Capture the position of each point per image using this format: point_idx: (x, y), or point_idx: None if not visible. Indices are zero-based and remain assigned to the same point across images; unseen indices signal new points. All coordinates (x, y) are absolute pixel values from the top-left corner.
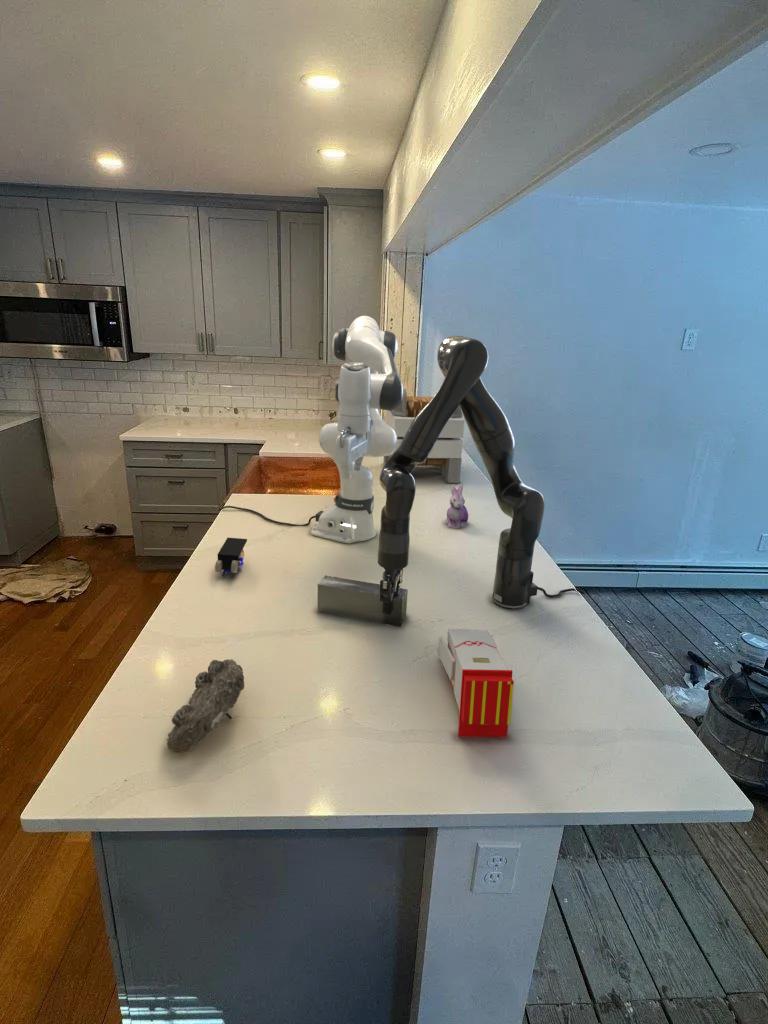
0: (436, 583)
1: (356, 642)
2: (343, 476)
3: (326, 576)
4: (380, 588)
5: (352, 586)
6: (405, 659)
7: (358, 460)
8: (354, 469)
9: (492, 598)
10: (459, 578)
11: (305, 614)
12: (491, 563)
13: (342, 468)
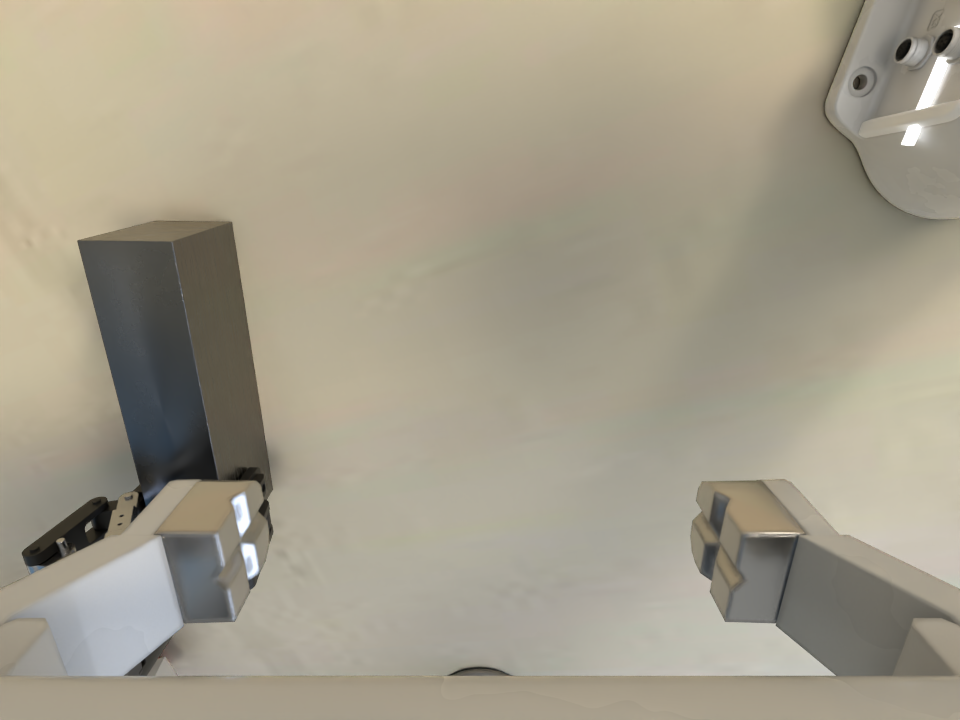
0: (524, 530)
1: (65, 399)
2: (166, 493)
3: (162, 251)
4: (44, 536)
5: (143, 380)
6: None
7: (857, 624)
8: (705, 485)
9: (466, 674)
10: (584, 584)
11: (114, 185)
12: (727, 652)
13: (8, 598)
